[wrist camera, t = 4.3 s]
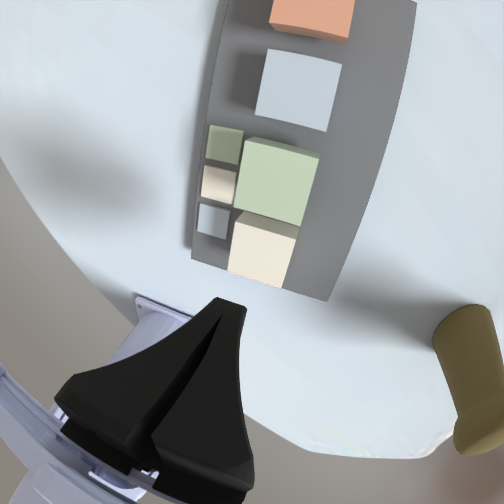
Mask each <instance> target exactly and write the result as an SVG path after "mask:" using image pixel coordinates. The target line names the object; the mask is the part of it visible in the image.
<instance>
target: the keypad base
mask: <svg viewBox="0 0 504 504" xmlns="http://www.w3.org/2000/svg"><path fill="white" fill-rule="evenodd" d="M273 2H274V0H229V2H228V6H227V10H226V15H225V19H224V23H223V28H222V33H221V37H220V42H219V47H218V52H217V57H216V62H215V68H214V73H213V79H212V84H211V90H210V96H209V102H208V109H207V115H206V122H205V129H204V136H203V143H202V151H201V159H200V167H199V175H198V184H197V194H196V204H195V214H194V226H193V238H192V251H191V259H194V260H197V261H200V262H203V263H206V264H209V265H212V266H215V267H218V268H221V269H224V270H227V268H228V262H229V256H230V250H231V244H232V238H233V232H234V226H235V221H236V220H237V219H238V218H239V216H240V215H241V214H242V213H243V211H246V210H243V209H239V208H235V207H234V201H235V195H236V189H237V183H238V178H239V172H240V166H241V161H242V155H243V149H244V144H245V140H247V139H250V138H252V137H259V138H263V139H268V140H272V141H276V142H280V143H284V144H288V145H292V146H296V147H299V148H303V149H307V150H310V151H314V152H317V153H321V154H320V158H319V161H318V165H317V169H316V172H315V176H314V180H313V183H312V187H311V191H310V194H309V198H308V201H307V205H306V208H305V212H304V215H303V219H302V222H301V225H300V226H297V225H294V224H291V223H287V222H284V221H281V220H277V219H274V218H270V217H267V216H264V215H260V214H257V213H253V212H250V211H246V212H250V213H253V214H257V215H260V216H264V217H267V218H270V219H274V220H277V221H281V222H284V223H287V224H291V225H294V226H297V227H300V229H299V232H298V235H297V239H296V242H295V245H294V249H293V252H292V255H291V259H290V262H289V265H288V268H287V271H286V275H285V278H284V281H283V284H282V287H281V288H283V289H286V290H290V291H293V292H296V293H299V294H303V295H306V296H309V297H312V298H316V299H319V300H322V301H326V302H327V301H328V299H329V296H330V294H331V292H332V290H333V288H334V285H335V283H336V281H337V279H338V276H339V274H340V272H341V269H342V267H343V265H344V262H345V260H346V258H347V255H348V253H349V250H350V248H351V245H352V243H353V240H354V238H355V235H356V233H357V230H358V228H359V225H360V223H361V220H362V217H363V215H364V212H365V209H366V206H367V204H368V201H369V198H370V195H371V192H372V190H373V187H374V184H375V181H376V178H377V175H378V172H379V169H380V166H381V162H382V159H383V156H384V153H385V150H386V146H387V143H388V140H389V136H390V133H391V129H392V125H393V122H394V118H395V114H396V111H397V107H398V103H399V99H400V95H401V90H402V86H403V82H404V77H405V73H406V68H407V63H408V58H409V53H410V47H411V41H412V35H413V29H414V22H415V15H416V7H417V3H416V2H414V1H411V0H355V4H354V9H353V14H352V20H351V25H350V30H349V35H348V40H347V44H346V45H343V44H339V43H335V42H331V41H327V40H323V39H318V38H314V37H309V36H304V35H298V34H293V33H286V32H280V31H276V30H275V29H274V28H273V27H272V26H271V24H270V23H269V20H270V15H271V11H272V6H273ZM268 49H273V50H279V51H285V52H291V53H296V54H301V55H306V56H311V57H315V58H319V59H324V60H328V61H332V62H335V63H339V64H342V68H341V72H340V76H339V81H338V85H337V89H336V94H335V98H334V102H333V106H332V110H331V114H330V119H329V123H328V127H327V131H326V132H324V131H321V130H317V129H313V128H310V127H306V126H302V125H298V124H294V123H290V122H286V121H282V120H277V119H273V118H268V117H264V116H259V115H255V110H256V105H257V100H258V95H259V90H260V85H261V80H262V75H263V71H264V66H265V61H266V56H267V51H268Z"/></svg>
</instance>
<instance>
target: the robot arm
mask: <svg viewBox="0 0 504 504" xmlns="http://www.w3.org/2000/svg"><path fill="white" fill-rule="evenodd" d="M135 304H136V311H137V318H138V324H137V325H136V326H135V328H134V329H133V330H132V332H131V333H130V334H129V335H128V337H127V338H126V339H125V340H124V342H123V343H122V344H121V346H120V347H119V348H118V349H117V351H116V352H115V353H114V355H113V356H112V357H111V359H110V360H109V361H108V362H107V364H106V365H105V366H103V367H100V368H98V369H93V370H90V371H86V372H82V373H78V374H74V375H73V376H72V377H71V378H70V379H69V380H68V381H67V382H66V383H65V384H64V385H63V387H62V388H61V389H60V391H59V392H58V393H57V395H56V396H55V397H54V399H55V402H54V404H53V405H52V407H51V409H50V411H48V410H47V409H46V408H44V407H43V406H42V405H41V404H40V403H39V402H37V401H36V400H35V399H34V398H33V397H32V396H31V395H30V394H29V393H28V392H26V391H25V390H24V389H23V388H22V387H21V386H20V385H19V384H18V383H17V382H16V381H15V380H14V379H13V378H12V377H11V376H10V375H9V373H7V371H6V370H5V368H4V367H3V365H2V364H1V363H0V437H1V438H2V439H3V441H4V442H5V443H6V444H7V445H8V447H9V448H10V449H11V450H12V452H14V454H15V455H16V456H17V457H18V459H19V460H20V461H21V462H22V463H23V464H24V465H25V466H26V467H27V469H28V471H27V473H26V475H25V476H24V478H23V479H22V481H21V483H20V484H19V486H18V488H17V489H16V491H15V493H14V495H13V496H12V498H11V500H10V501H9V503H8V504H140V503H138V502H136V501H137V500H138V499H139V498H141V497H142V496H143V495H144V494H145V493H146V492H147V491H148V492H150V493H152V494H154V495H156V496H158V497H161V498H163V499H165V500H168V501H170V502H172V503H175V504H242V502H243V501H244V499H245V496H246V493H247V492H248V491H249V490H251V489H252V488H253V486H254V479H255V478H254V463H253V454H252V450H251V447H250V443H249V439H248V435H247V430H246V425H245V420H244V414H243V408H242V401H241V392H240V380H239V348H240V337H241V333H242V329H243V325H244V321H245V317H246V312H247V308H246V307H245V306H242V305H239V304H236V303H233V302H230V301H227V300H224V299H221V298H219V297H216V298H214V299H213V300H212V301H211V302H210V303H209V304H208V305H207V306H206V307H204V308H203V309H202V310H201V311H200V312H199V313H197V314H196V315H195V316H194V317H193V318H191V317H188V316H186V315H183V314H181V313H178V312H176V311H173V310H171V309H168V308H166V307H163V306H161V305H159V304H156V303H154V302H152V301H149V300H147V299H145V298H142V297H139V296H138V297H137V298H136V299H135Z"/></svg>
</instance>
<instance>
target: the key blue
mask: <svg viewBox="0 0 504 504" xmlns="http://www.w3.org/2000/svg"><path fill="white" fill-rule="evenodd" d="M341 68H342V64H339V63H335V62H332V61H328V60H324V59H319V58H315V57H311V56H306V55H301V54H296V53H291V52H285V51H279V50H273V49H268V51H267V56H266V61H265V66H264V71H263V75H262V80H261V85H260V90H259V95H258V100H257V105H256V110H255V115H259V116H264V117H268V118H273V119H277V120H282V121H286V122H290V123H294V124H298V125H302V126H306V127H310V128H313V129H317V130H321V131H324V132H326V131H327V127H328V123H329V119H330V114H331V110H332V106H333V102H334V98H335V94H336V89H337V85H338V81H339V76H340V72H341Z"/></svg>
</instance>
